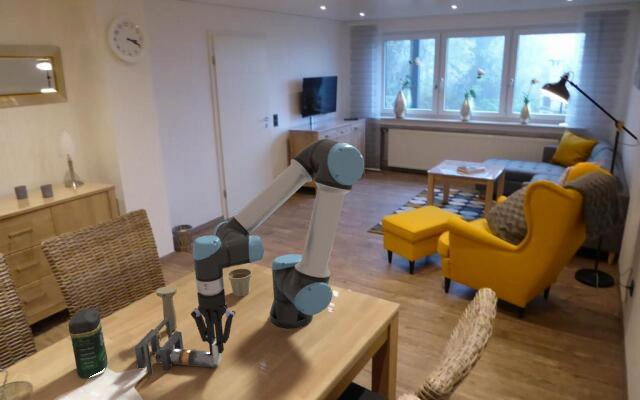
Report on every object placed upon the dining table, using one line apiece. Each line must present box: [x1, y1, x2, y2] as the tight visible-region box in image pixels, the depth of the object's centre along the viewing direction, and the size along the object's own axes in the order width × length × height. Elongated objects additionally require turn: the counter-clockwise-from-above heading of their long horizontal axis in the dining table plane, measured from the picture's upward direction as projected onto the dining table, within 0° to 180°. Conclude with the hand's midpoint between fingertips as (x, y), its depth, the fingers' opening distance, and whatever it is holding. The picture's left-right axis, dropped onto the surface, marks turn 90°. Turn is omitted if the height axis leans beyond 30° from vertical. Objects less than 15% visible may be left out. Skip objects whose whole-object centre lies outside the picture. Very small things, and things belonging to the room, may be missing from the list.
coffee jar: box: [67, 307, 109, 379], centre depth 131 cm, size 10×8×19 cm
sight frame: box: [143, 316, 175, 376], centre depth 135 cm, size 1×14×11 cm, turn 170°
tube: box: [154, 346, 218, 368], centre depth 134 cm, size 18×4×4 cm, turn 81°
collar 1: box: [134, 328, 161, 369], centre depth 137 cm, size 2×10×7 cm, turn 170°
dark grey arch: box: [160, 330, 184, 372], centre depth 135 cm, size 2×10×7 cm, turn 170°
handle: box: [155, 286, 178, 332], centre depth 151 cm, size 5×6×15 cm
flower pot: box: [226, 267, 253, 298], centre depth 175 cm, size 9×9×9 cm
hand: (217, 361), depth 133 cm, fingers closed
